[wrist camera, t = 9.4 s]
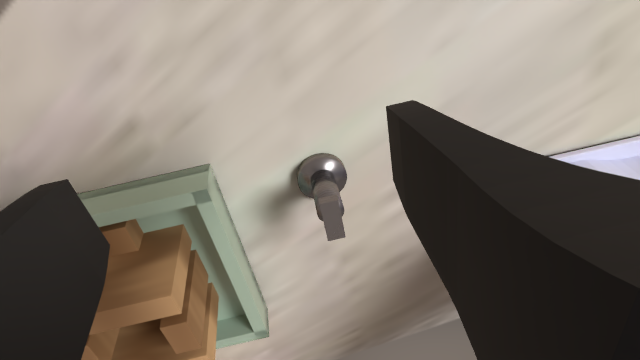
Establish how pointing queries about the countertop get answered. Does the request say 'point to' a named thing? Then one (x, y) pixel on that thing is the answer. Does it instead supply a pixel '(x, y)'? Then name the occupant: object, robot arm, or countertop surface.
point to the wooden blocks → (153, 298)
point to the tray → (193, 239)
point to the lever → (325, 190)
